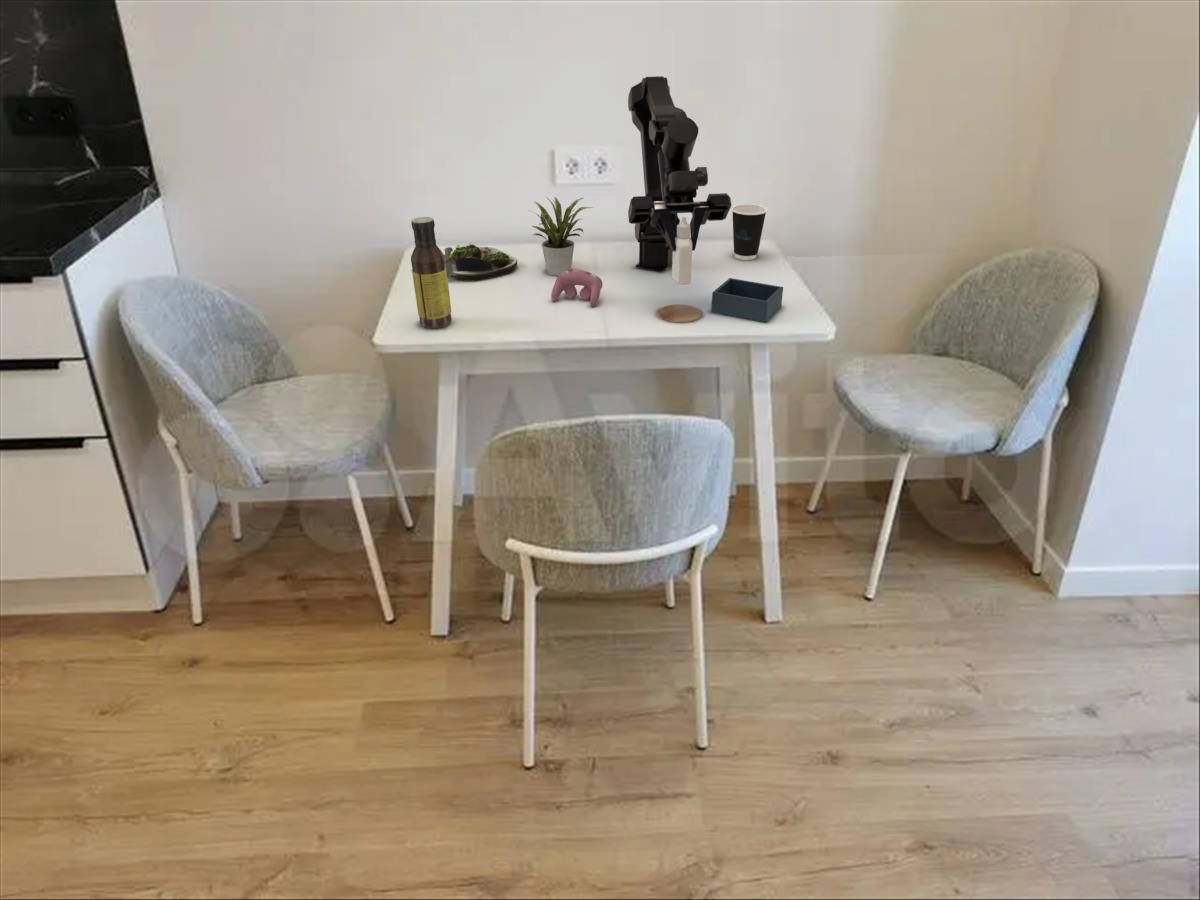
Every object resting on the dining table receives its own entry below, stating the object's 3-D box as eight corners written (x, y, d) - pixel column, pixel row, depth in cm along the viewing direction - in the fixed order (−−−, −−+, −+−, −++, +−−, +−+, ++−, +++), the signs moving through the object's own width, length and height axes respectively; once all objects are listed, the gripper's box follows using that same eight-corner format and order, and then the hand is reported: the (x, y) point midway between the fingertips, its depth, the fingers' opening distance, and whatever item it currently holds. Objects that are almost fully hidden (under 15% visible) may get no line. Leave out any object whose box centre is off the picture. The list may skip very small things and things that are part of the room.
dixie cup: (731, 262, 197) (735, 214, 192) (724, 251, 204) (728, 204, 199) (766, 261, 198) (771, 213, 192) (758, 250, 205) (762, 203, 199)
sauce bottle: (458, 320, 169) (449, 217, 159) (440, 331, 164) (429, 226, 154) (430, 314, 172) (419, 212, 161) (411, 326, 167) (398, 221, 157)
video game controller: (601, 308, 178) (606, 274, 177) (594, 306, 174) (599, 270, 173) (555, 303, 181) (560, 268, 180) (548, 300, 177) (553, 265, 176)
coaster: (650, 317, 170) (650, 315, 170) (668, 303, 176) (668, 301, 176) (690, 325, 166) (690, 323, 166) (707, 311, 173) (707, 309, 173)
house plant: (603, 262, 198) (603, 189, 189) (590, 283, 186) (589, 206, 178) (541, 258, 200) (538, 186, 192) (524, 279, 189) (521, 202, 180)
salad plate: (415, 262, 199) (412, 242, 196) (485, 247, 207) (483, 228, 205) (454, 286, 185) (452, 265, 183) (527, 270, 194) (526, 249, 191)
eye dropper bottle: (665, 283, 166) (667, 220, 160) (674, 274, 171) (677, 212, 165) (687, 286, 165) (691, 223, 159) (696, 277, 170) (699, 215, 163)
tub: (710, 312, 172) (712, 292, 170) (728, 297, 179) (729, 277, 177) (765, 322, 168) (767, 302, 165) (781, 306, 175) (783, 286, 172)
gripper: (631, 152, 158) (639, 231, 155) (733, 148, 160) (743, 227, 157) (624, 184, 169) (632, 259, 166) (719, 181, 171) (729, 255, 167)
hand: (684, 250), depth 164 cm, fingers closed on eye dropper bottle, 3 cm apart
